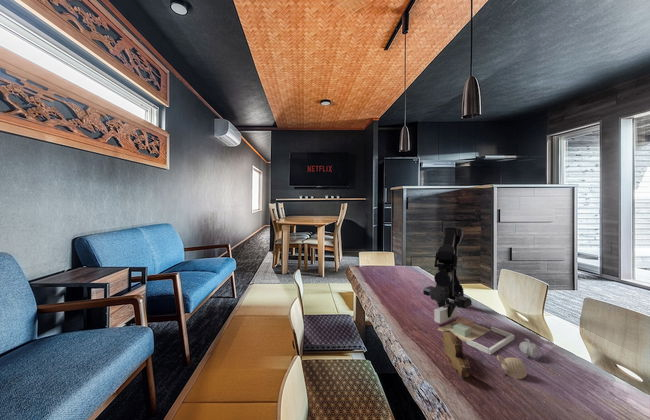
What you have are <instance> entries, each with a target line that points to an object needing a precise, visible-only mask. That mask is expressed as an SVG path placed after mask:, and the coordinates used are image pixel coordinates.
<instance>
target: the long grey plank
mask: <svg viewBox="0 0 650 420" xmlns="http://www.w3.org/2000/svg"><path fill="white" fill-rule="evenodd" d="M433 312H434V313H433V314H434V317H433V318H434V322H435V323H438V324H443V323H445V322H447V321H449V320H451V319H454V318H456V317H457V318H458V306H456V307H455V309H454V311H453V313H452V315H451V317H450V318H448V306H447V305H446V304H445V306H442V307H439V306H438V307H437V308H435V309H434V311H433Z"/></svg>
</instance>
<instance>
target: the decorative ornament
mask: <svg viewBox="0 0 650 420" xmlns="http://www.w3.org/2000/svg"><path fill="white" fill-rule="evenodd" d="M496 359H497V361H499V362H500V364H501V367H502V369H503V370H505V371H507V372H506V373H505V375H506V376H509V377H510V378H513V379H515V380H522V379H525V378H526V377H527V376H528V375H527V374H528V373H527V369H526V368H527V367H526V365H525V363H524V362H523V360H522V359H520V358H518V357H506V358H504V357H503V356H501V355H497V356H496Z"/></svg>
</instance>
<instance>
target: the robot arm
mask: <svg viewBox="0 0 650 420" xmlns="http://www.w3.org/2000/svg"><path fill="white" fill-rule="evenodd" d="M442 236H443V237H444V238H443V242H442V245H441V246H439V247H438V250H437V251H435V252H436V253H435V258H434V266H433V267H434V268H437V269H438V271H437V272H436V274H435V275H434V282H435V283H436V284H435V286H427V287H424V289H422V290H423V293H422V294H423V295H425V296H427V297H430V300H432V301H435V302H436V303H437V306H438V308H439V307H442V306H445V305H447V306H448V318H450V317H451V315H452V313H453V311H454V309H455V307H456V306H457V308H461V309H465V308H468V307H470V306H472V299H471V298H470V297H467V296H465V295H464V294H465V293H464V288H463V285H461V279H460V278H459V276H458V259H459V257H458V255H459V254H458V250H459V249H458V246H459V245H460V243H461V242H462V238H463V237H464V231H463V228H460V227H456V226H445V227H443V228H442Z"/></svg>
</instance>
